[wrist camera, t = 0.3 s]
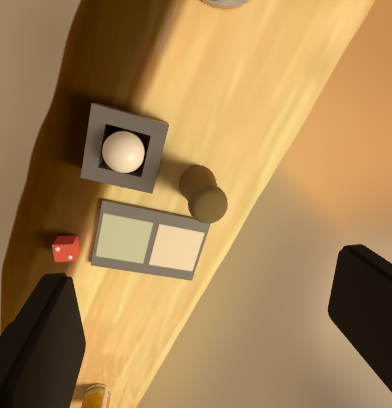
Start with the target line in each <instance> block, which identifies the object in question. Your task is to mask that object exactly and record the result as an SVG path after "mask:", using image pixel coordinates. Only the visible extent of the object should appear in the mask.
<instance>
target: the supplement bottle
mask: <svg viewBox="0 0 392 408" xmlns="http://www.w3.org/2000/svg"><path fill="white" fill-rule="evenodd" d="M110 395H111V391H110V389H109V387H107V386H105V385H102V384H95V385H92V386H90V387H89V388H87V390H86V391H85V394H84V398H83V402H82V407H81V408H109V402H110Z"/></svg>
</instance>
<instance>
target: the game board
mask: <svg viewBox="0 0 392 408" xmlns="http://www.w3.org/2000/svg"><path fill="white" fill-rule="evenodd" d="M210 224H211V223H209V224H207V223H201V222H199V221H197V220H196V219H195V218H193V217H188V216H183V215H178V214H173V213H168V212H164V211H159V210H154V209H149V208H144V207H139V206H135V205H130V204H125V203H120V202H115V201H110V200H106V199H103V201H102V206H101V211H100V217H99V222H98V228H97V233H96V239H95V245H94V250H93V256H92V261H91V265H92V266H99V267H106V268H112V269H119V270H126V271H132V272H139V273H145V274H152V275H159V276H165V277H172V278H179V279H185V280H192V279H193V276H194V272H195V269H196V266H197V263H198V260H199V257H200V254H201V251H202V248H203V245H204V242H205V239H206V236H207V233H208V230H209V227H210Z"/></svg>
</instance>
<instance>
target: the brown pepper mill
mask: <svg viewBox="0 0 392 408" xmlns="http://www.w3.org/2000/svg"><path fill="white" fill-rule="evenodd" d="M179 187H180V190H181V192H182V194H183V195H184V197H185V198H186V199H187V201H188V207H189V211H190V213H191V215H192V216H193V217H194V218H195V219H196V220H197V221H199V222H201V223H207V224H209V223H214V222H216V221H218V220H220V219H221V218H222V217H223V216H224V214H225V213H226V210H227V206H228V204H227V198H226V195H225V193H224V192H223V191H222V190H221V189H220V188H219V187H217V183H216V180H215V177H214V175H213V173H212V172H211V171H210V170H209V169H208V168H206V167H204V166H192V167H190V168H188V169H187V170H186V171H185V172H183V174H182V176H181V177H180V181H179Z"/></svg>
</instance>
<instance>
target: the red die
mask: <svg viewBox="0 0 392 408" xmlns="http://www.w3.org/2000/svg"><path fill="white" fill-rule="evenodd" d="M52 249H53V254H54V259H55V262H64V261H75V260H76V258H77V256H78V254H79V252H80V246H79V240H78V235H69V236H58V237H57V239H56V240H55V241H54V243H53V244H52Z"/></svg>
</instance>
